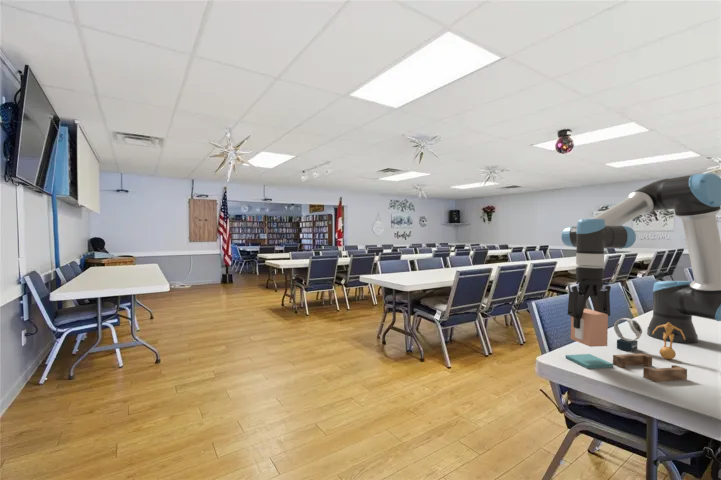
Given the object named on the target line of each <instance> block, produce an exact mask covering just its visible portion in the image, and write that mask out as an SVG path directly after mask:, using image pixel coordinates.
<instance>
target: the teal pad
mask: <svg viewBox="0 0 721 480" xmlns="http://www.w3.org/2000/svg"><path fill="white" fill-rule="evenodd" d="M565 359H567V360H569V361H570V362H573V363H575V364H577V365H580V367H583V368H586V369H602V368H604V369H605V368H613V367H614V365H613V362H609V361H607V360H605V359H603V358H600V357H598V356H596V355H593V354H591V353H581V354H578V353H577V354H566V355H565Z"/></svg>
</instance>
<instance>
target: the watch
mask: <svg viewBox="0 0 721 480" xmlns="http://www.w3.org/2000/svg"><path fill="white" fill-rule="evenodd" d="M620 321H627V323H628V325H629V328H630V329H631V331H632V333H634V334H635V336H636V338H634V339H632V338H626V337H625V336H623V335H624V334H623V333H622V332H621V330H620V327H619V325H618V324H619V323H620ZM613 331H614V332H615V334H616V336H617V337H618V339H616V350H622V351H626V352H628V353H629V352H630V353H632V352H634V351H637V350H638V342H639V341H638V340H639V339H640V338H641V336H642V334H643V329H642V327H641V325H640V324H639V322H637V321H636V320H634V319H632V318H629V317H628V318H627V317H623V318H620V319H617V320H616V321H615V322H614V324H613Z"/></svg>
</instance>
